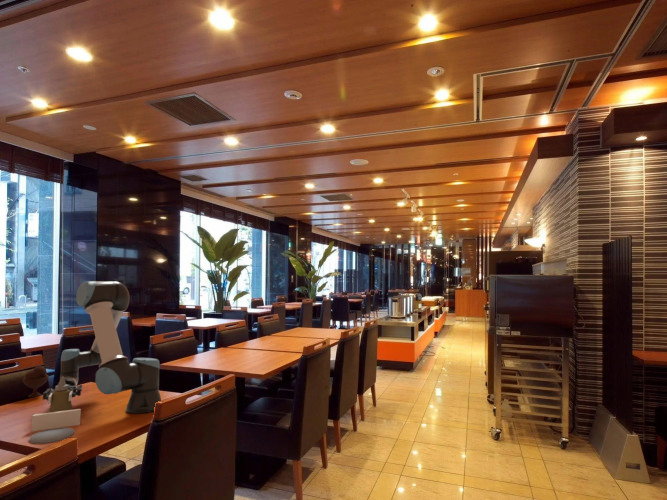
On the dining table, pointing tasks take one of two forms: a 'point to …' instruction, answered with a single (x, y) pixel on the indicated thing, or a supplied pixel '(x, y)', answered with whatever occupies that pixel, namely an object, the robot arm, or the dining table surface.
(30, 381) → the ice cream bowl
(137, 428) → the dining table surface
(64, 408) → the squeeze bottle
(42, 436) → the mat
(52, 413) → the beige rectangular block
